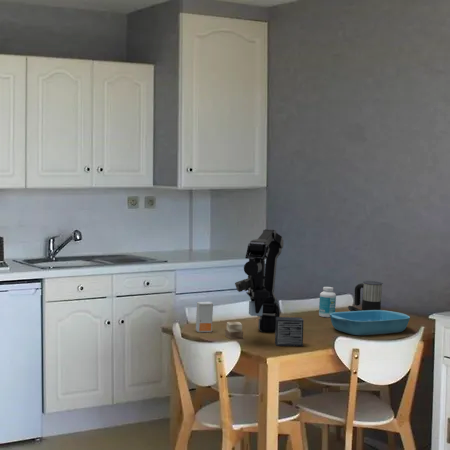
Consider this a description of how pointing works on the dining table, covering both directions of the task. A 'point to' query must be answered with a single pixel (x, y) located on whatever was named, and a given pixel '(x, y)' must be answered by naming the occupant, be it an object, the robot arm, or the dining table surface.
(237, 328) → the tower mid
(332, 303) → the pill bottle
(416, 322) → the dining table surface
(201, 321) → the skincare box
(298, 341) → the small box
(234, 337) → the tower base
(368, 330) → the casserole dish
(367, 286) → the milk frother
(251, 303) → the blue cube
